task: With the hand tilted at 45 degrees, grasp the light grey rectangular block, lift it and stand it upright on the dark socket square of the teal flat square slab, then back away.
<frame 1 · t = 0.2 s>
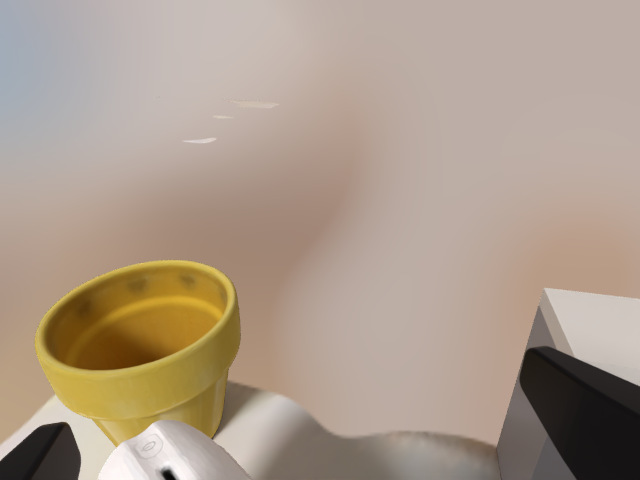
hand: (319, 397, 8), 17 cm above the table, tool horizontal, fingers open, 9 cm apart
plant pot: (173, 425, 27), on the table
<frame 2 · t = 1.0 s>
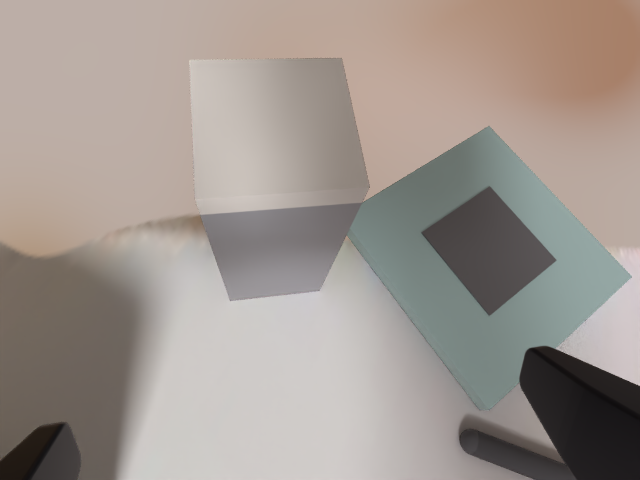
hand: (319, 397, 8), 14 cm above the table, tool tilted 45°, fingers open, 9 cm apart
light grey rectangular block: (271, 254, 23), on the table
teal flat square slab: (480, 252, 25), on the table
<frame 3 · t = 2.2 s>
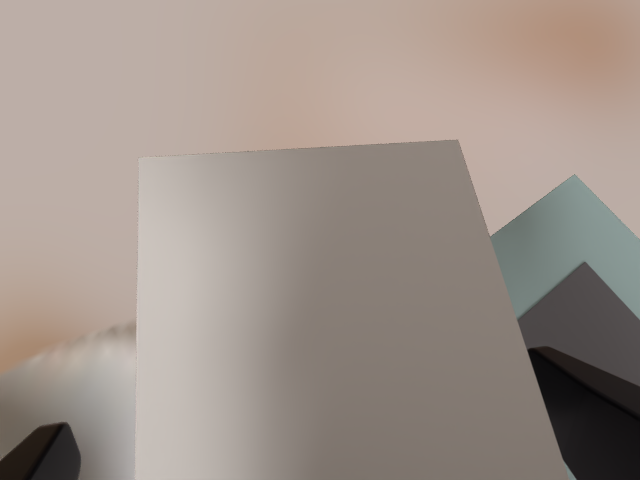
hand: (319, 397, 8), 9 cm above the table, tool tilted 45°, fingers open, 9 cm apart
light grey rectangular block: (288, 371, 16), on the table
teal flat square slab: (577, 356, 18), on the table
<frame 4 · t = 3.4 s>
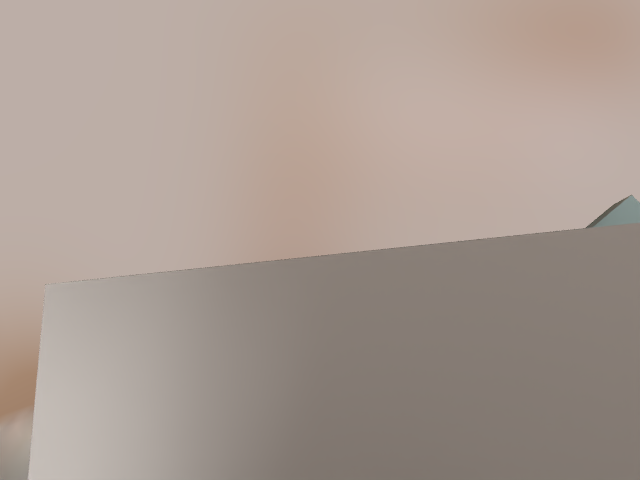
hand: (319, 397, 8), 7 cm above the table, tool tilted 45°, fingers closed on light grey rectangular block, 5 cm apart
light grey rectangular block: (301, 441, 13), on the table, touching gripper
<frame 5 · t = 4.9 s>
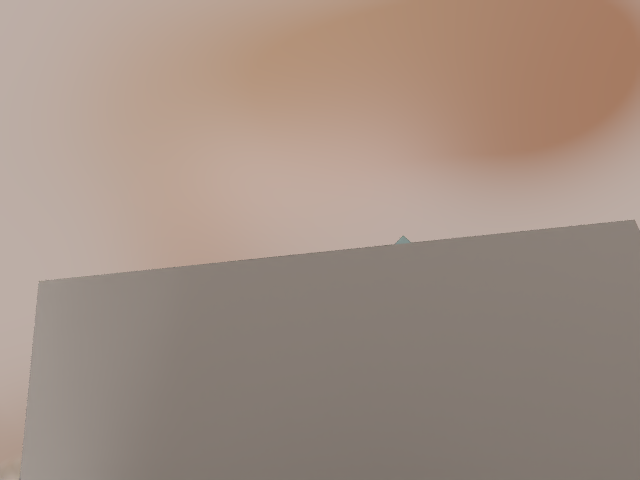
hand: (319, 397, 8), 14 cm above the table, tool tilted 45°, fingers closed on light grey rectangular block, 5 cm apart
light grey rectangular block: (299, 440, 13), point 7 cm above the table, touching gripper
when the fingers open (8 cm above the table, at t = 6.6 s): light grey rectangular block stays where it is, resting on teal flat square slab.
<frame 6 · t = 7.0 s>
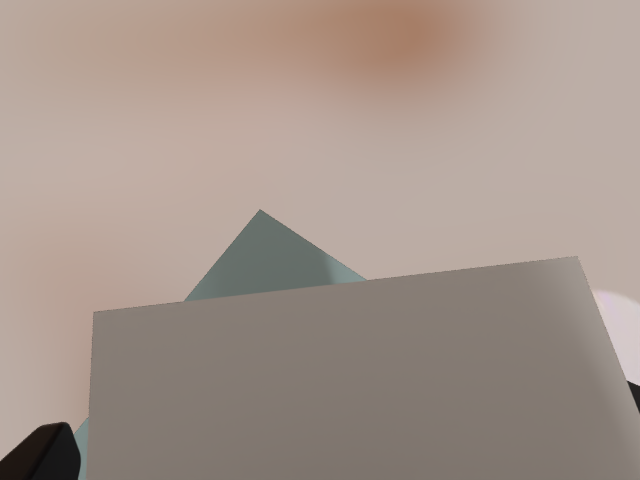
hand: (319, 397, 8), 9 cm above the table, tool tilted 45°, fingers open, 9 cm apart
light grey rectangular block: (299, 439, 14), point 1 cm above the table, touching teal flat square slab
teal flat square slab: (296, 436, 15), on the table
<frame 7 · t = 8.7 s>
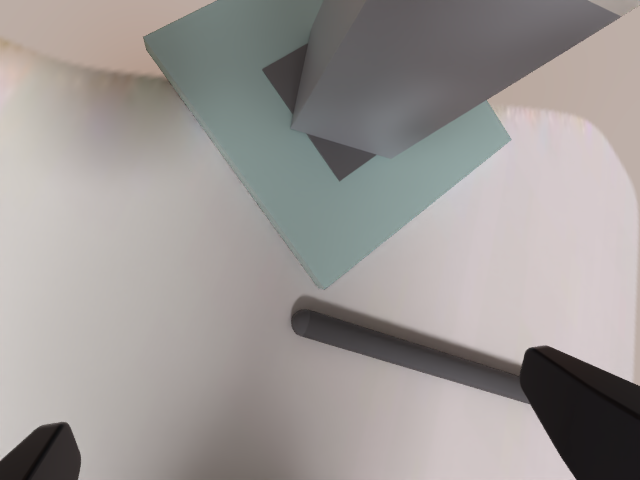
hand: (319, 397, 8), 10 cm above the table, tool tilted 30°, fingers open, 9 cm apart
light grey rectangular block: (351, 94, 19), point 1 cm above the table, touching teal flat square slab
dark grey bar: (429, 360, 20), on the table
teal flat square slab: (343, 103, 20), on the table
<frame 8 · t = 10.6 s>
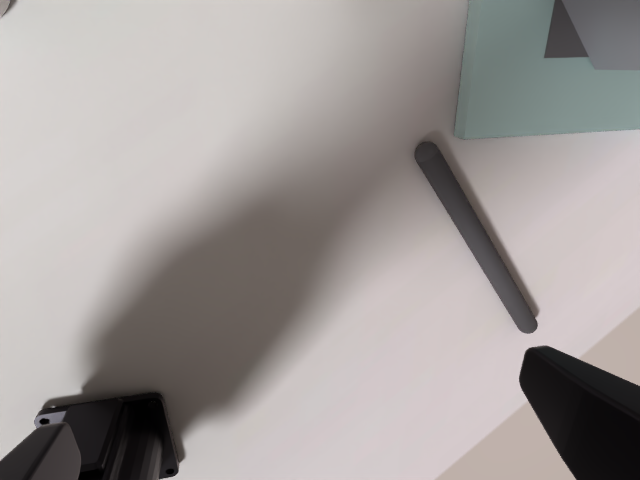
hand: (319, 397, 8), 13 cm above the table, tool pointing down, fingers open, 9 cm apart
dark grey bar: (477, 246, 23), on the table
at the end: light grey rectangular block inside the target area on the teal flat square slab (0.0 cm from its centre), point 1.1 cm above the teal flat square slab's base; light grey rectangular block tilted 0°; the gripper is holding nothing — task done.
